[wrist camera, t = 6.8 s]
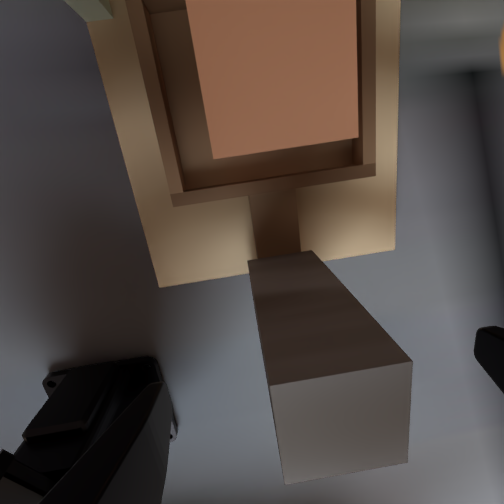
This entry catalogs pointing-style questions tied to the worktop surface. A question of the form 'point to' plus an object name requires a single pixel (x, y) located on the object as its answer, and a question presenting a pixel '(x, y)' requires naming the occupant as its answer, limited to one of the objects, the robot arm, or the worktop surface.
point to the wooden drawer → (289, 260)
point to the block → (276, 72)
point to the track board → (238, 209)
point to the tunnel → (91, 9)
